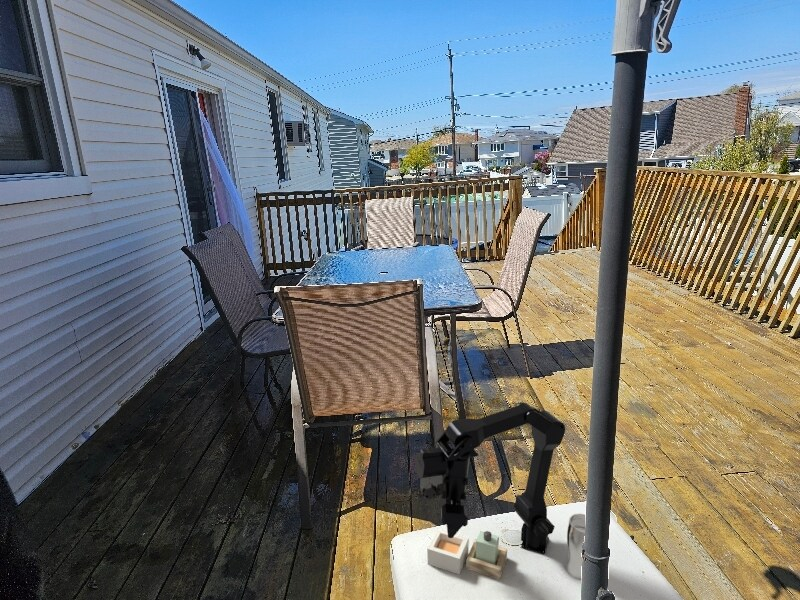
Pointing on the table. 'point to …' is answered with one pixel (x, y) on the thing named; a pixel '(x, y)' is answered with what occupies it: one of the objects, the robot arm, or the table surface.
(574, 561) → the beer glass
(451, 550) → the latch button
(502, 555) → the tan wooden frame
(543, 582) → the table surface
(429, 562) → the socket
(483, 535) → the plug
